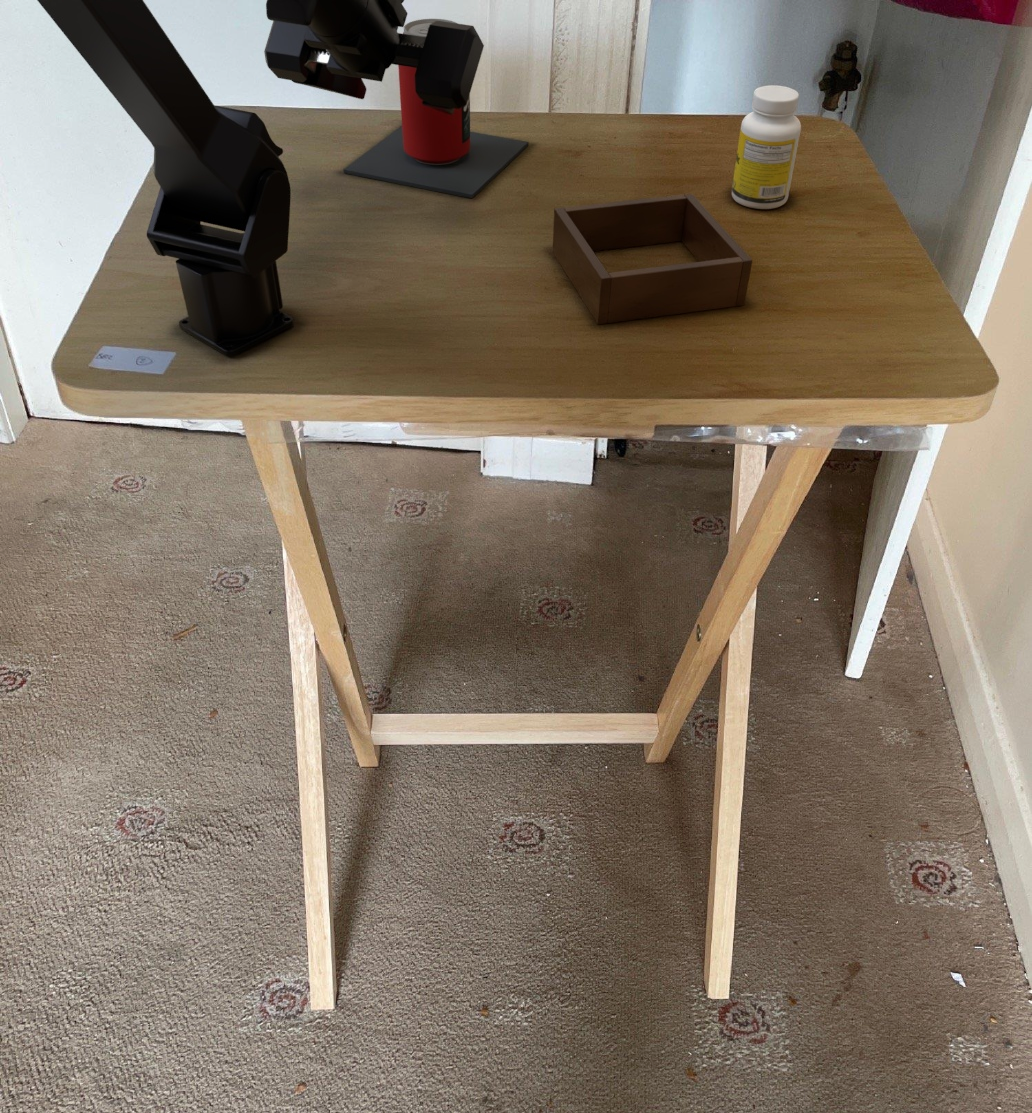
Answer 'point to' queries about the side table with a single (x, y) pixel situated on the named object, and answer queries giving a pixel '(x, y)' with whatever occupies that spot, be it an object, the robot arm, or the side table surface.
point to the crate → (654, 288)
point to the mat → (449, 178)
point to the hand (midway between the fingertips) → (407, 101)
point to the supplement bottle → (767, 149)
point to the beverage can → (430, 117)
